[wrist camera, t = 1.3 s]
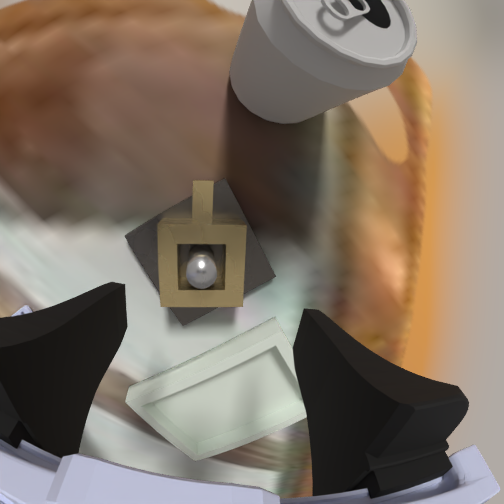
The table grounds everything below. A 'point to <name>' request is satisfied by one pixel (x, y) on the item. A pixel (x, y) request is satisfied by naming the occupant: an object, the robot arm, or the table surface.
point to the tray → (224, 394)
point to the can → (318, 54)
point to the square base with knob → (201, 250)
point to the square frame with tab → (201, 232)
